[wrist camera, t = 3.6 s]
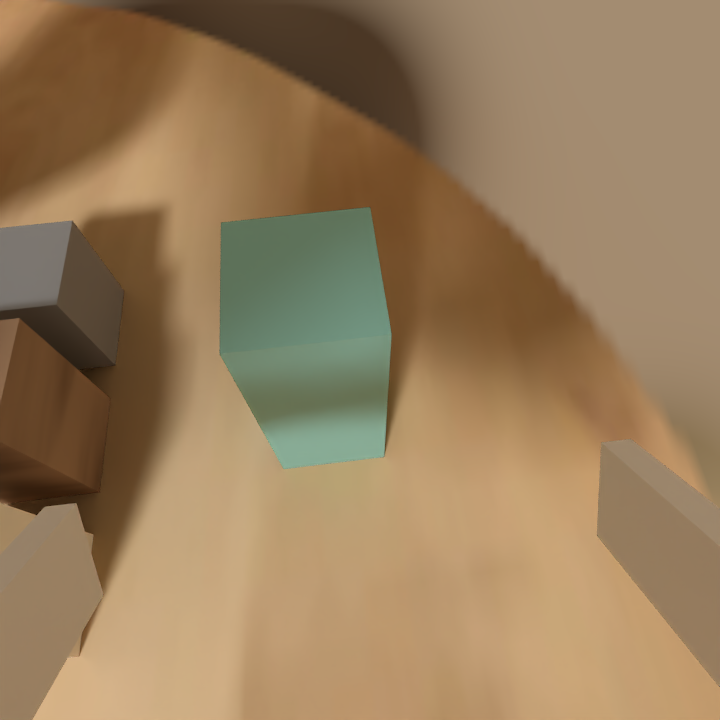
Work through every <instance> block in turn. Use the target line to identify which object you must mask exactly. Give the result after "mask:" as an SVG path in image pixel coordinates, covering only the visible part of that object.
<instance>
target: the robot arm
mask: <svg viewBox="0 0 720 720" xmlns="http://www.w3.org/2000/svg"><path fill="white" fill-rule="evenodd" d="M597 536H598V537H599V539H600V540H601V541H602V542H603V544H604V545H605V546H606V547H607V549H608V550H609V551H610V552H611V554H612V555H613V556H614V557H615V558H616V560H617V561H618V562H619V563H620V565H621V566H622V567H623V568H624V570H625V571H626V572H627V573H628V575H629V576H630V577H631V578H632V580H633V581H634V582H635V583H636V584H637V586H638V587H639V588H640V589H641V591H642V592H643V593H644V594H645V596H646V597H647V598H648V599H649V601H650V602H651V603H652V604H653V605H654V607H655V608H656V609H657V610H658V612H659V613H660V614H661V615H662V617H663V618H664V619H665V620H666V622H667V623H668V624H669V625H670V626H671V628H672V629H673V630H674V631H675V633H676V634H677V635H678V636H679V638H680V639H681V640H682V641H683V643H684V644H685V645H686V646H687V647H688V649H689V650H690V651H691V652H692V654H693V655H694V656H695V657H696V659H697V660H698V661H699V662H700V664H701V665H702V666H703V667H704V669H705V670H706V671H707V672H708V673H709V675H710V676H711V677H712V678H713V680H714V681H715V682H716V683H717V685H718V686H719V687H720V508H719V507H717V506H716V505H715V504H713V503H712V502H711V501H710V500H708V499H707V498H706V497H705V496H703V495H702V494H701V493H699V492H698V491H697V490H696V489H694V488H693V487H692V486H690V485H689V484H688V483H687V482H685V481H684V480H683V479H681V478H680V477H679V476H678V475H676V474H675V473H674V472H672V471H671V470H670V469H669V468H667V467H666V466H665V465H663V464H662V463H661V462H660V461H658V460H657V459H656V458H654V457H653V456H652V455H651V454H649V453H648V452H647V451H646V450H644V449H643V448H642V447H640V446H639V445H638V444H637V443H635V442H634V441H633V440H631V439H627V440H619V441H610V442H601V457H600V479H599V500H598V521H597ZM102 597H103V591H102V588H101V584H100V581H99V578H98V574H97V571H96V568H95V564H94V561H93V557H92V554H91V551H90V547H89V544H88V540H87V537H86V534H85V530H84V527H83V524H82V520H81V517H80V513H79V510H78V507H77V503H72V504H64V505H55V506H46V507H44V508H43V509H42V510H41V511H40V512H39V513H38V515H37V516H36V517H35V518H34V519H33V520H32V521H31V522H30V523H29V524H28V525H27V526H26V527H25V529H24V530H23V531H22V532H21V533H20V534H19V535H18V536H17V537H16V538H15V539H14V540H13V541H12V542H11V544H10V545H9V546H8V547H7V548H6V549H5V550H4V551H3V552H2V553H1V554H0V720H32V719H33V717H34V716H35V714H36V712H37V710H38V709H39V707H40V705H41V703H42V702H43V700H44V698H45V696H46V695H47V693H48V691H49V689H50V688H51V686H52V684H53V682H54V681H55V679H56V677H57V675H58V674H59V672H60V670H61V668H62V667H63V665H64V663H65V661H66V660H67V658H68V656H69V654H70V653H71V651H72V649H73V647H74V646H75V644H76V642H77V640H78V639H79V637H80V635H81V633H82V632H83V630H84V628H85V626H86V625H87V623H88V621H89V619H90V618H91V616H92V614H93V613H94V611H95V609H96V607H97V606H98V604H99V602H100V600H101V599H102Z"/></svg>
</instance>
